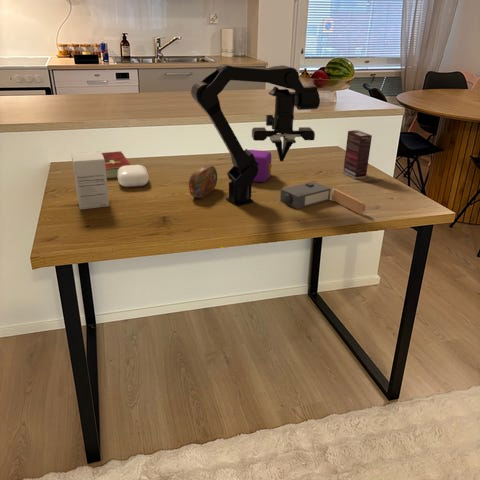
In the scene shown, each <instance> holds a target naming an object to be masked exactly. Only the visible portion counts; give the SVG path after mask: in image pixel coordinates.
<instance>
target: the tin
mask: <svg viewBox="0 0 480 480" xmlns="http://www.w3.org/2000/svg"><path fill="white" fill-rule="evenodd" d="M217 183H218V173H217V168H216V167H215V166H213V165H205V166H203V167H201V168H200V169H198V170H196V171H194V172H193V173H192V174H191V175H190V178H189V180H188V188H189V193H190V195H191V197H192V198H198V199H202V197H203V198H204V197H206V196H207V195H208V194H210V193H211V192H213V191H214V190H215V189H216V187H217Z"/></svg>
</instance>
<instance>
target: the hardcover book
mask: <svg viewBox="0 0 480 480" xmlns="http://www.w3.org/2000/svg"><path fill="white" fill-rule="evenodd" d="M102 155H103V157H104V159H105V167H106V176H107V179H110V178H111V179H112V178H118V176H117V172H118V169H119V168H120V167H122V166H126V165H132V164H131V163H130V161H129V160H128V159H127V158H126V156H125V154H124V152H122V151H119V150H118V151H117V150H116V151H107V152H105V151H104V152H102Z"/></svg>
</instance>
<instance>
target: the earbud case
mask: <svg viewBox="0 0 480 480" xmlns="http://www.w3.org/2000/svg"><path fill="white" fill-rule="evenodd" d="M117 176H118V177H117V181H118V183H119V184H120V185H121V186H122V187H125V188H128V187H129V188H130V187H131V188H132V187H143V186H145V185H146V184H147V183H148V182H149V174H148V170H147V168H146V167H145V166H144V165H141V164H131V165H126V166H122V167H120V168H119V169H118V172H117Z"/></svg>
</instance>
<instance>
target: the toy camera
mask: <svg viewBox="0 0 480 480" xmlns="http://www.w3.org/2000/svg"><path fill="white" fill-rule="evenodd" d="M248 150H249V151H250V152H251V153H253V155H254V158H255V161H256V162H257V163H258V164H259V165H257V166H258V169H259V171H258V174H257V176H256V177H255V178H254V180H253V182H255V183H265V182H266V181H267V180H268V178H269V177H270V176H271V173H272V171H271V170H272V168H273V167H272V166H273V165H272V152H270V151H266V150H260V149H259V150H258V149H248Z"/></svg>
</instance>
